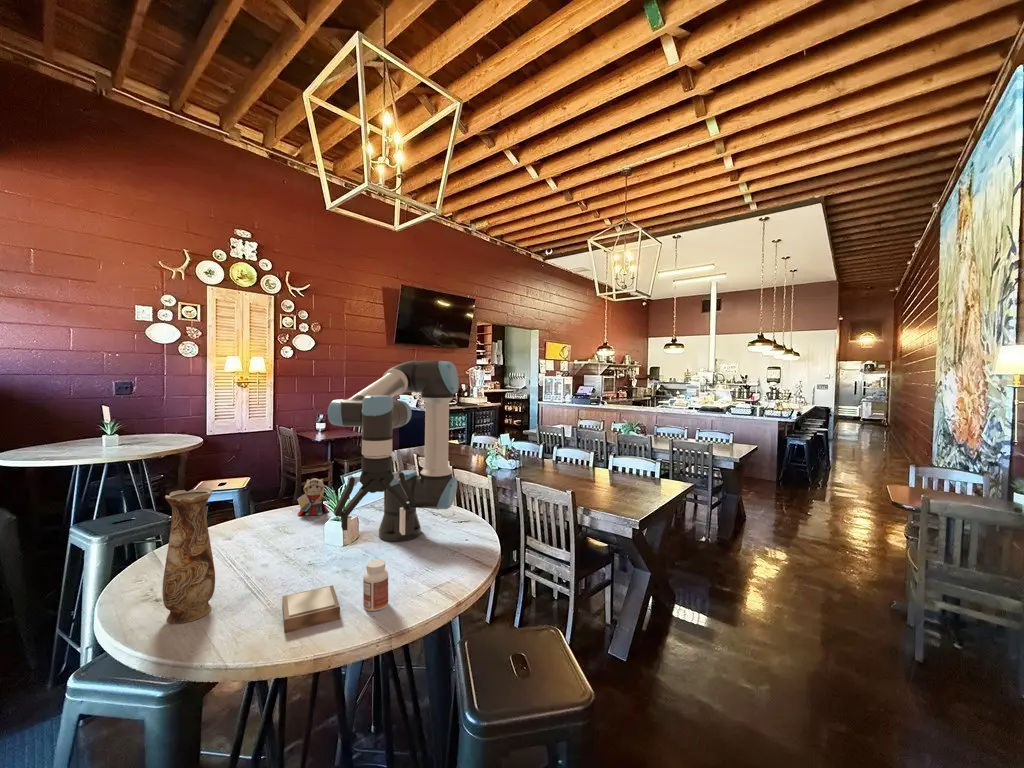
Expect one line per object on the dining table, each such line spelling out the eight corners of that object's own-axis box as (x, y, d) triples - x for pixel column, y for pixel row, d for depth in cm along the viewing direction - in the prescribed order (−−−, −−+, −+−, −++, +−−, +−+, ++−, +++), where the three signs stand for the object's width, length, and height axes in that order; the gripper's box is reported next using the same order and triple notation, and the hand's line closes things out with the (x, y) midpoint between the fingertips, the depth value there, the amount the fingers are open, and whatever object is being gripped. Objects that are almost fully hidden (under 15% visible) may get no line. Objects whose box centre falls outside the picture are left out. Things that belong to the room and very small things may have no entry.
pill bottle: (390, 599, 115) (391, 558, 115) (385, 612, 109) (385, 568, 108) (366, 599, 115) (367, 558, 114) (360, 612, 108) (360, 568, 108)
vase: (161, 630, 99) (160, 501, 99) (164, 609, 108) (163, 490, 107) (215, 616, 105) (215, 494, 105) (214, 597, 114) (214, 485, 113)
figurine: (291, 518, 175) (291, 482, 175) (302, 509, 187) (302, 475, 186) (324, 518, 177) (324, 482, 176) (333, 509, 188) (333, 475, 188)
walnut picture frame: (332, 596, 116) (333, 584, 116) (339, 618, 105) (339, 605, 105) (282, 607, 110) (282, 594, 110) (284, 632, 99) (284, 618, 99)
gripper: (419, 449, 120) (418, 525, 121) (322, 456, 108) (321, 541, 108) (428, 454, 114) (427, 534, 114) (326, 462, 101) (325, 552, 102)
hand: (376, 537), depth 111 cm, fingers open, 13 cm apart
